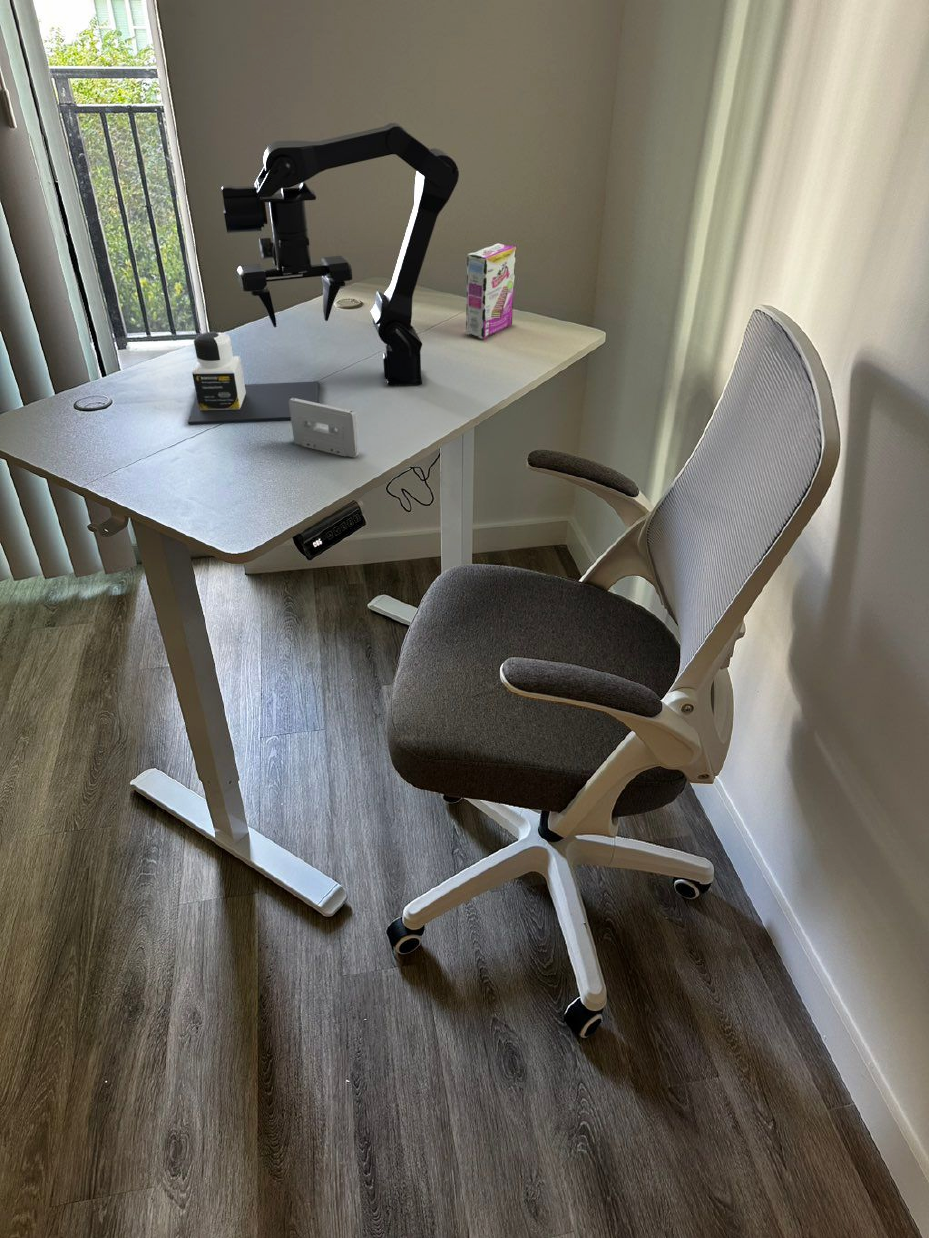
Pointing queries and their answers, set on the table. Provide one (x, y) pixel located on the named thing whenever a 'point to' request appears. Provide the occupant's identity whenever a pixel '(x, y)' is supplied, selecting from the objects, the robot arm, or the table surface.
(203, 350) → the medicine bottle
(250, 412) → the desk mat
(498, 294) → the candy bar box
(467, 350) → the table surface
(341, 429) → the cassette
